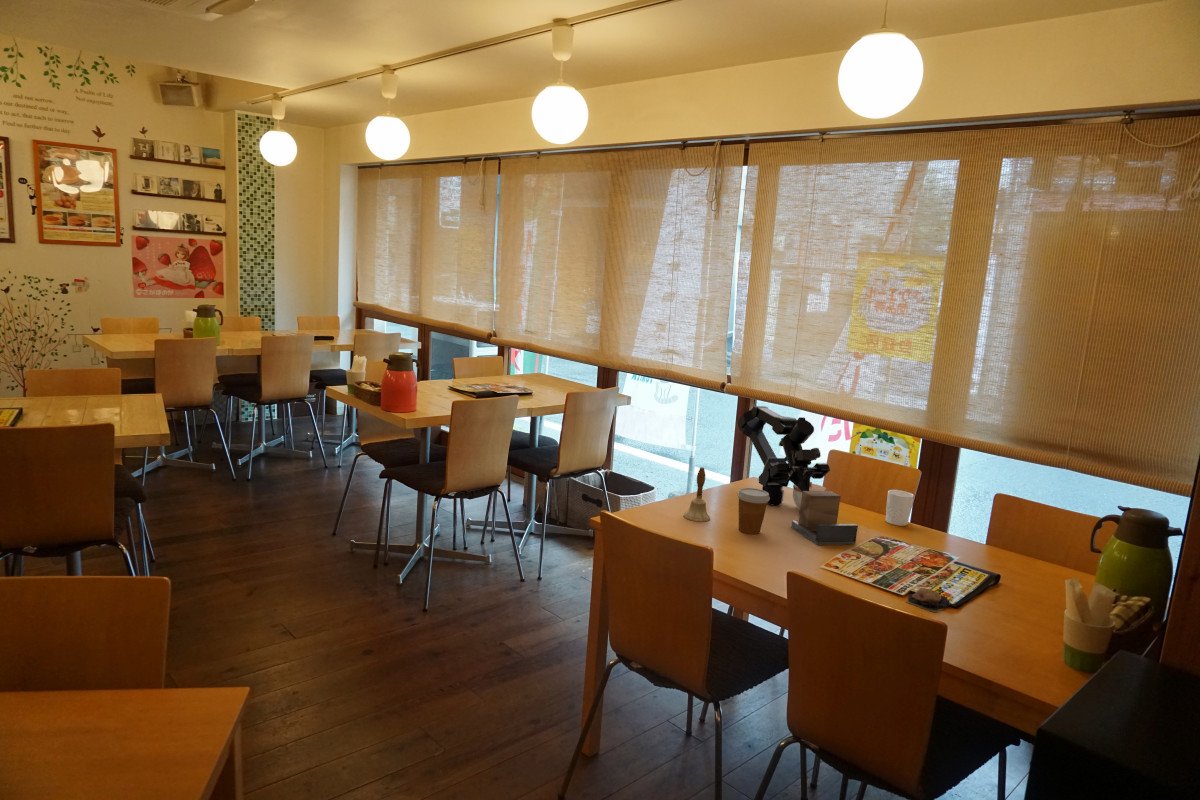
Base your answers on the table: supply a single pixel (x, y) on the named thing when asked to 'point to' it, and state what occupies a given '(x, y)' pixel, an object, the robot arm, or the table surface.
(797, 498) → the lidded jar
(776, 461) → the robot arm
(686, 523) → the table surface
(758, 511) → the disposable coffee cup
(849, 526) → the grey open tray
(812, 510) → the walnut slider
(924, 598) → the bread roll
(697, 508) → the hand bell
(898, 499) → the white cup
